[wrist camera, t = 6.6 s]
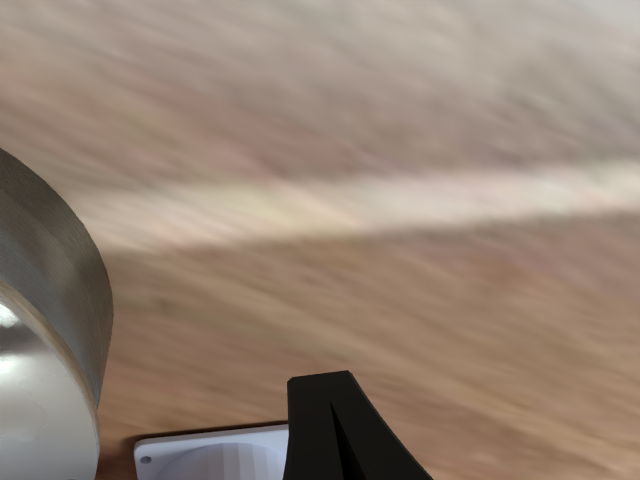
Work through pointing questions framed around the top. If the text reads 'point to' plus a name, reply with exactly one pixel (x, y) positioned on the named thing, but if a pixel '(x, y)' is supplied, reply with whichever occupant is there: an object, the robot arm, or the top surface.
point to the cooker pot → (55, 266)
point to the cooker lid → (42, 399)
